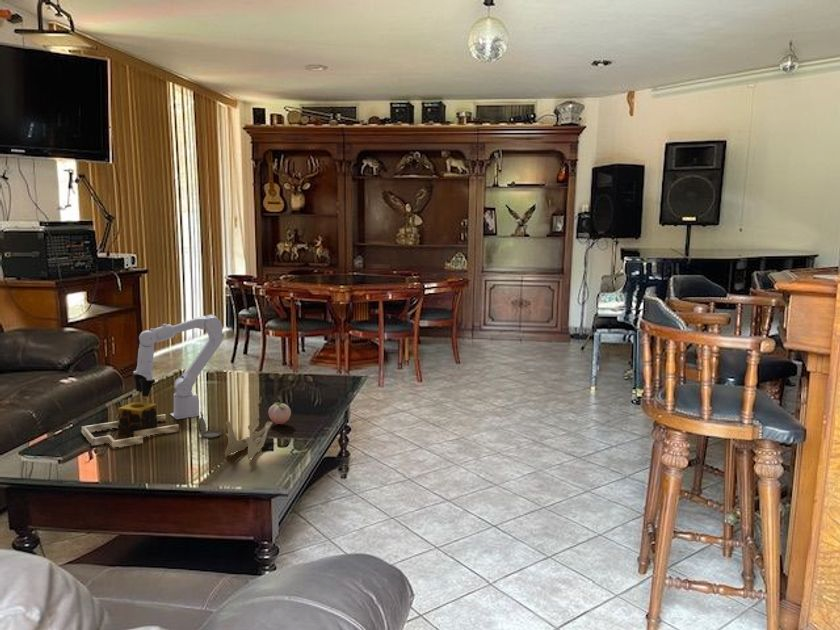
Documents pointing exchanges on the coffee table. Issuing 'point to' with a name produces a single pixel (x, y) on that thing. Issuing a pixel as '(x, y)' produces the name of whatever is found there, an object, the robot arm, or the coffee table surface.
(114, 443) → the trap channel
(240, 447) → the jawbone
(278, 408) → the decorative fruit
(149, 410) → the candle
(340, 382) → the coffee table surface
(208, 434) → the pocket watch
